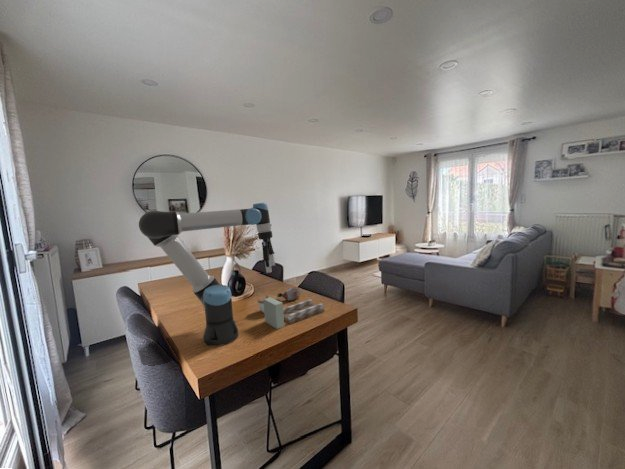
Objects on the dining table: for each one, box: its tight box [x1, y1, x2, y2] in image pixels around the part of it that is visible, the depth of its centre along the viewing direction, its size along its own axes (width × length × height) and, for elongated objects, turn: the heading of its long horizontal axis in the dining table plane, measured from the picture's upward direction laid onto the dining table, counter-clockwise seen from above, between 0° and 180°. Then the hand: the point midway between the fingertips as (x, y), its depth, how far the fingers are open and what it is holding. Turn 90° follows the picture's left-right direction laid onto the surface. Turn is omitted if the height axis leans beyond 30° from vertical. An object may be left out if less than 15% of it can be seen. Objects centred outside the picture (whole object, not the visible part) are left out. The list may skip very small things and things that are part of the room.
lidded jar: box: [257, 294, 278, 314], centre depth 147 cm, size 11×11×9 cm
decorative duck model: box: [276, 287, 302, 302], centre depth 166 cm, size 15×8×15 cm
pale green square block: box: [263, 297, 285, 330], centre depth 130 cm, size 4×12×12 cm, turn 39°
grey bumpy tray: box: [283, 299, 325, 325], centre depth 141 cm, size 22×13×4 cm, turn 129°
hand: (271, 268), depth 144 cm, fingers open, 13 cm apart
